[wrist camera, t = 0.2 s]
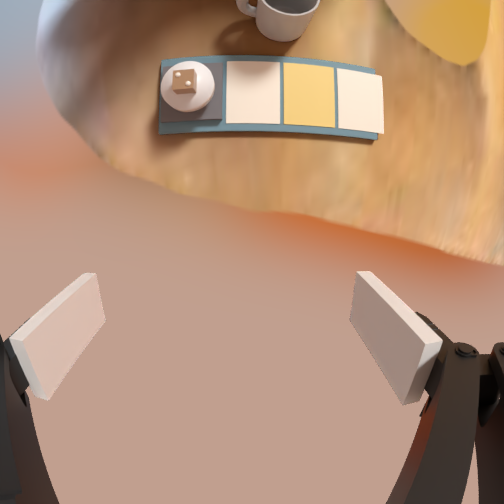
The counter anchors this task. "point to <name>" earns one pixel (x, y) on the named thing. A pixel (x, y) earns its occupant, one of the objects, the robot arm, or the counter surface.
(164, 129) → the game board
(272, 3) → the cup
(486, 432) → the robot arm
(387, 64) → the counter surface
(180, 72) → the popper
